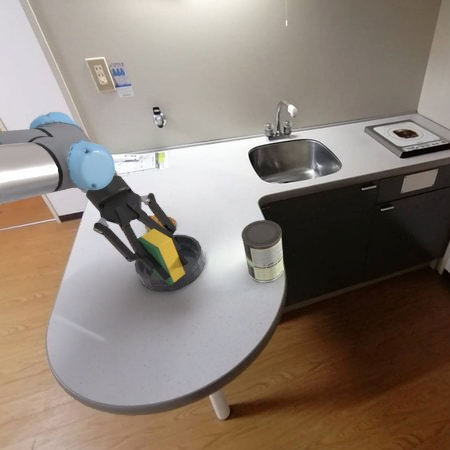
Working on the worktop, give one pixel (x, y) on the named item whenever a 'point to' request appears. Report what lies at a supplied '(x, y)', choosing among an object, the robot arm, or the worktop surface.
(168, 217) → the pastry
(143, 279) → the bowl
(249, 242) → the coffee can
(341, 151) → the worktop surface
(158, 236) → the sponge
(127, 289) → the worktop surface
